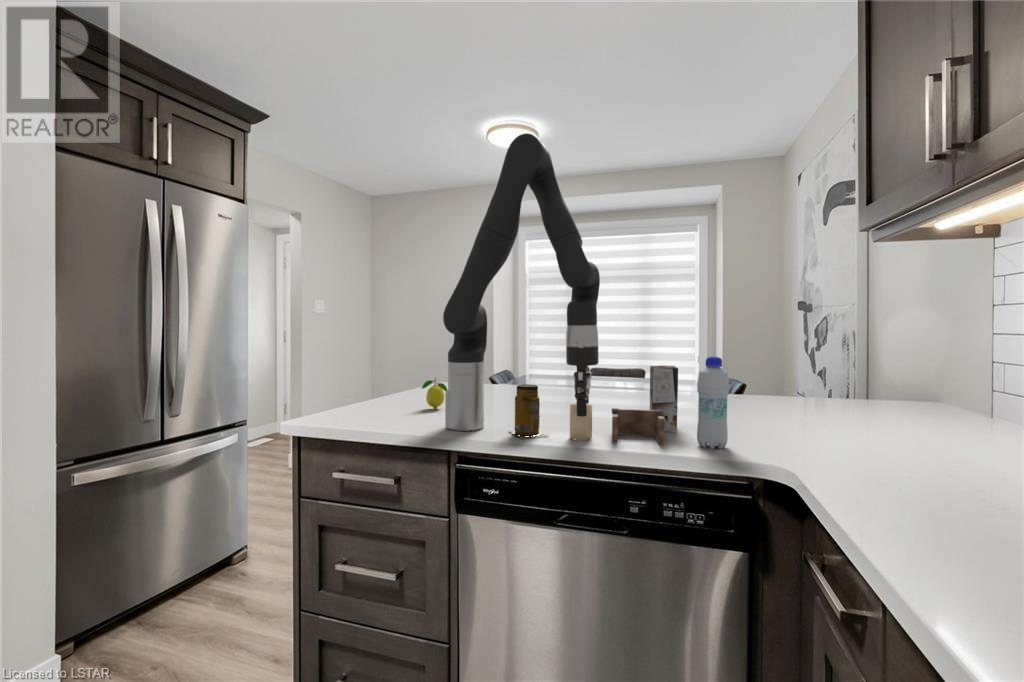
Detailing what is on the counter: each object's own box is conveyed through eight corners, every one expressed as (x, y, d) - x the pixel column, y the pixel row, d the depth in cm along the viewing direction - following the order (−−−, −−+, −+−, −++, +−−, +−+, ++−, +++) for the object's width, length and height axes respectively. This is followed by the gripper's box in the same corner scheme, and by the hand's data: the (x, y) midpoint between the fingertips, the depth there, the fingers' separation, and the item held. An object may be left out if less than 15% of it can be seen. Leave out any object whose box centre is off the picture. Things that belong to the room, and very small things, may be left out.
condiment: (534, 430, 129) (534, 383, 128) (548, 437, 121) (548, 387, 120) (507, 432, 126) (507, 384, 126) (520, 439, 118) (520, 388, 118)
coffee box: (678, 432, 126) (678, 368, 125) (651, 431, 127) (652, 367, 127) (673, 425, 135) (674, 365, 134) (648, 424, 136) (649, 364, 136)
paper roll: (568, 439, 118) (569, 405, 117) (570, 435, 123) (571, 402, 122) (591, 441, 117) (591, 406, 116) (592, 436, 122) (592, 402, 121)
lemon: (421, 410, 157) (421, 378, 156) (427, 407, 162) (427, 376, 162) (442, 410, 156) (442, 378, 155) (447, 407, 161) (447, 376, 161)
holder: (611, 442, 115) (611, 412, 114) (611, 432, 126) (612, 404, 125) (665, 445, 112) (665, 414, 112) (661, 434, 123) (661, 406, 123)
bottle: (727, 444, 114) (728, 355, 113) (729, 451, 107) (731, 357, 107) (695, 441, 116) (696, 355, 115) (696, 448, 110) (697, 357, 109)
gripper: (569, 343, 127) (569, 407, 127) (563, 346, 113) (564, 418, 113) (599, 343, 125) (600, 408, 126) (597, 345, 111) (597, 419, 112)
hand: (583, 413), depth 119 cm, fingers open, 8 cm apart
